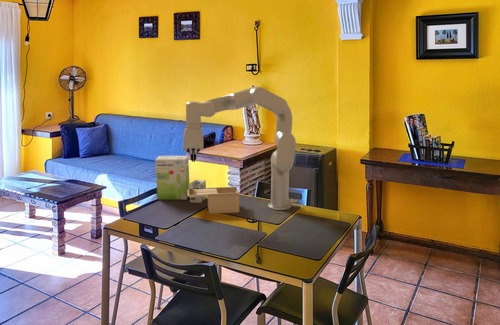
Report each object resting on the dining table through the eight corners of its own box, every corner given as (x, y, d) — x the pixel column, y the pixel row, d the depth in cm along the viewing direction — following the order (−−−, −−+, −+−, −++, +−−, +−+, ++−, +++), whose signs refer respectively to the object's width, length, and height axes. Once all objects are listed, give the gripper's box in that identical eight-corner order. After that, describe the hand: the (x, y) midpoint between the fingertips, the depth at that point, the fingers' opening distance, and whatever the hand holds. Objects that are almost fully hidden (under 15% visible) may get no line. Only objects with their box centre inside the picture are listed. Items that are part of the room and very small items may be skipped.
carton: (236, 205, 231) (236, 186, 228) (239, 212, 219) (239, 193, 217) (207, 206, 228) (207, 187, 226) (208, 213, 217) (208, 194, 215)
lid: (216, 190, 226) (216, 183, 225) (217, 195, 217) (217, 188, 216) (187, 191, 224) (187, 184, 223) (187, 196, 214) (187, 189, 213)
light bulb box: (200, 203, 234) (200, 184, 231) (189, 202, 235) (188, 184, 232) (206, 197, 244) (206, 179, 241) (195, 196, 245) (195, 179, 243)
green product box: (156, 199, 239) (154, 158, 234) (160, 194, 249) (159, 155, 244) (187, 200, 239) (185, 159, 233) (190, 194, 249) (189, 155, 243)
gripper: (207, 125, 216) (207, 159, 220) (178, 125, 214) (178, 159, 218) (208, 127, 209) (208, 162, 213) (178, 127, 207) (178, 163, 211)
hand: (193, 161), depth 216 cm, fingers closed
